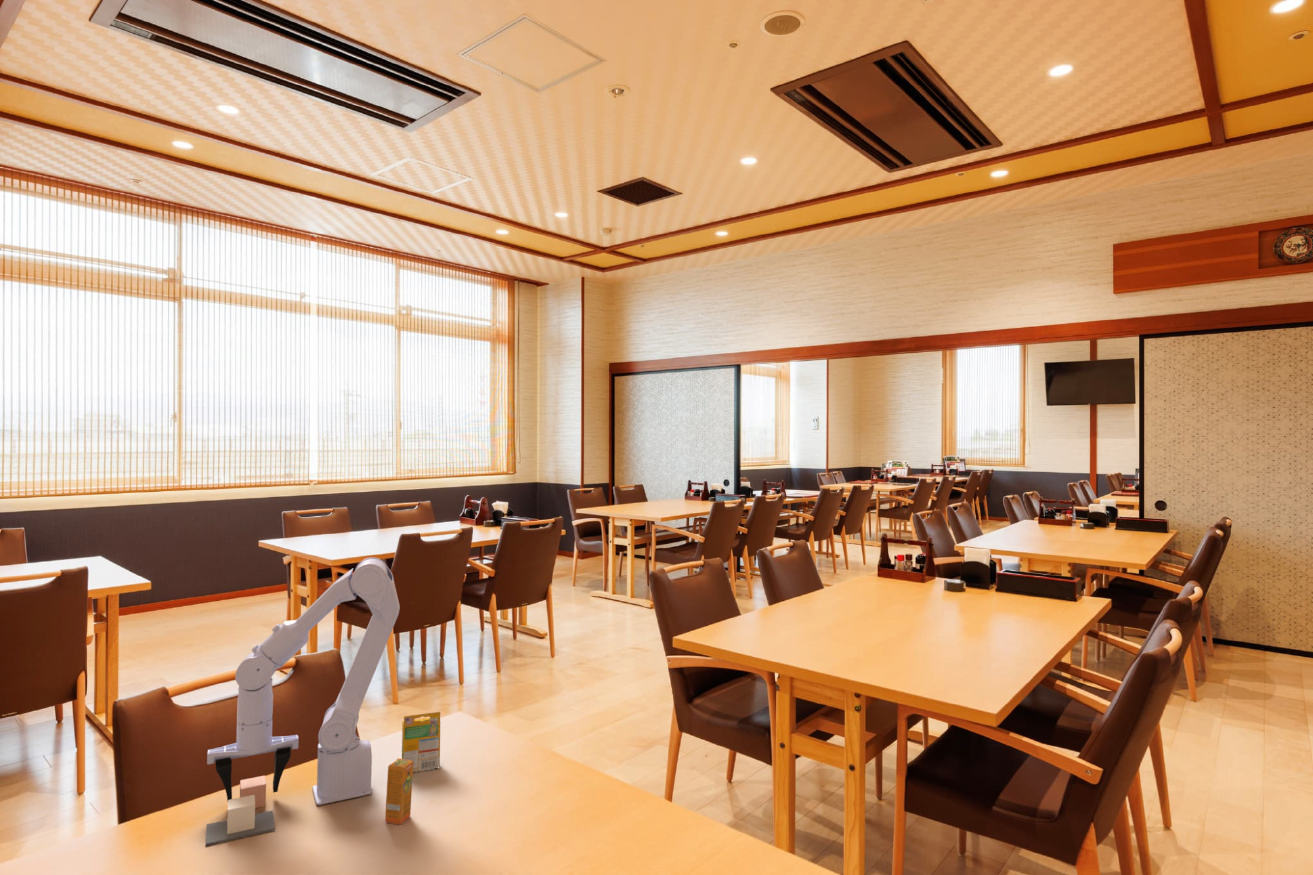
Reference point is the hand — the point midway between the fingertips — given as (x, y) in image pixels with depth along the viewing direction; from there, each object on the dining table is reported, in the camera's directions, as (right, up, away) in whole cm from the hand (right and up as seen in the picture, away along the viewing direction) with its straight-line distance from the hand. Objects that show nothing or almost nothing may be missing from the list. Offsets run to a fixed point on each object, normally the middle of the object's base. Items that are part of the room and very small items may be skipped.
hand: (252, 794), depth 131 cm
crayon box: (+26, -3, +15) cm, 30 cm away
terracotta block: (0, -2, 0) cm, 2 cm away
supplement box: (+29, -2, -5) cm, 29 cm away
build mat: (+3, -1, -9) cm, 9 cm away
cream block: (+3, -1, -9) cm, 9 cm away
